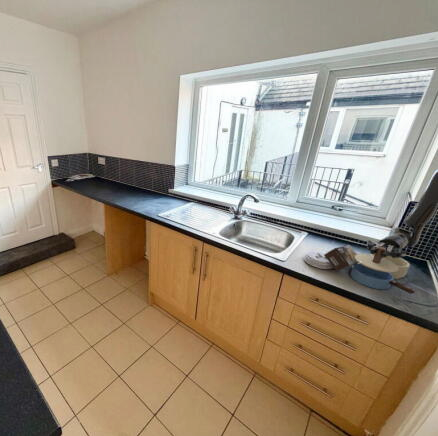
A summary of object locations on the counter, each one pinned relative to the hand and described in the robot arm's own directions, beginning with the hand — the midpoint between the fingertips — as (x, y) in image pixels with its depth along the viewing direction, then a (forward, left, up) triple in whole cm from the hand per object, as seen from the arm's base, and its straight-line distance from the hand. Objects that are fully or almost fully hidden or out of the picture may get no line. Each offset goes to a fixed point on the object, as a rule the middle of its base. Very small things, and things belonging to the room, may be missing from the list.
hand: (377, 253), depth 104 cm
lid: (+19, +5, -14) cm, 24 cm away
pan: (-3, -3, -14) cm, 15 cm away
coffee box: (+12, -8, -9) cm, 17 cm away
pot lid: (+1, -3, -6) cm, 6 cm away
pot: (+2, -19, -14) cm, 24 cm away
